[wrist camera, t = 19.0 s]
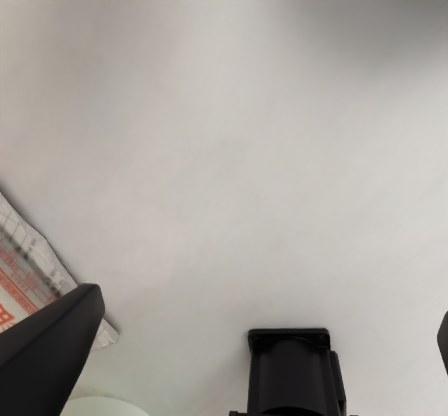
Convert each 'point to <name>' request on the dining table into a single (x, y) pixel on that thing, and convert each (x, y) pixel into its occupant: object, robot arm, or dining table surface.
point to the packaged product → (32, 274)
